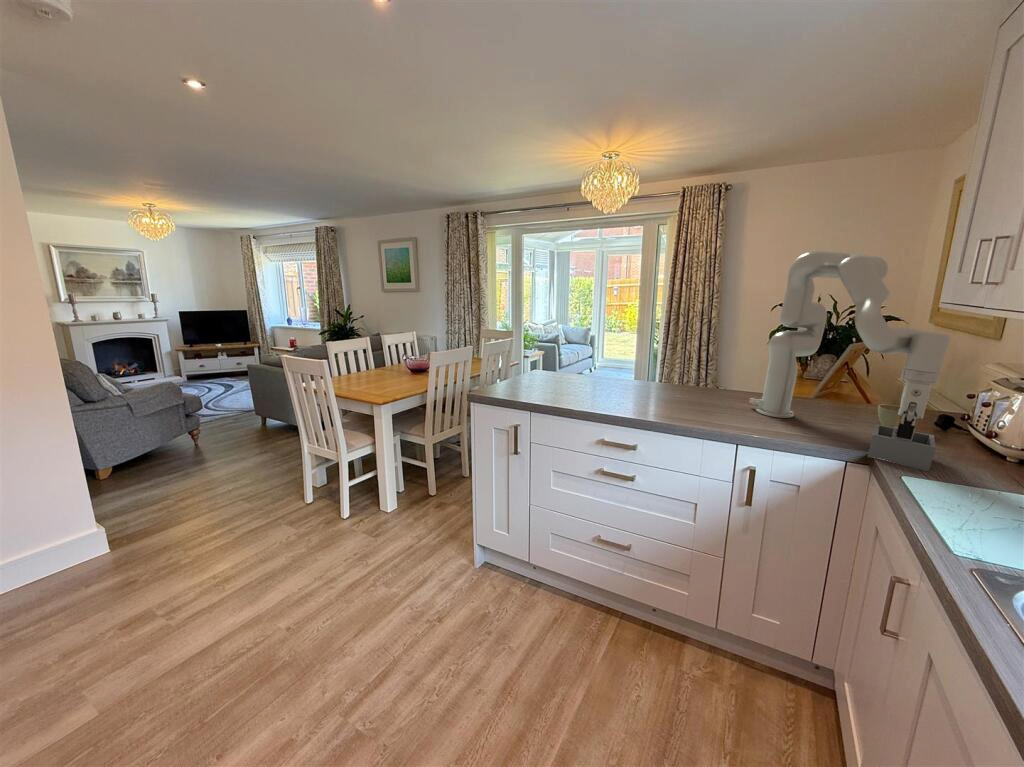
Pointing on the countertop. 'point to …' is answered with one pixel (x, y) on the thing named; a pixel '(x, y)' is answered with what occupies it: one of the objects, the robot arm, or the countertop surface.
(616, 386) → the countertop surface
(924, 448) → the bin
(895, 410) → the pale green bowl
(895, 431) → the sprinkles bottle
